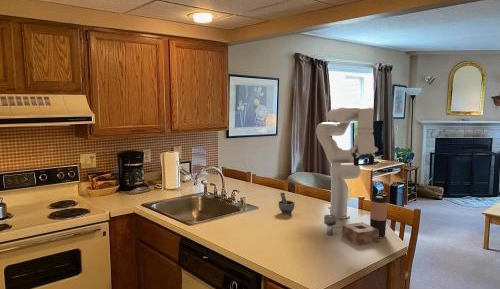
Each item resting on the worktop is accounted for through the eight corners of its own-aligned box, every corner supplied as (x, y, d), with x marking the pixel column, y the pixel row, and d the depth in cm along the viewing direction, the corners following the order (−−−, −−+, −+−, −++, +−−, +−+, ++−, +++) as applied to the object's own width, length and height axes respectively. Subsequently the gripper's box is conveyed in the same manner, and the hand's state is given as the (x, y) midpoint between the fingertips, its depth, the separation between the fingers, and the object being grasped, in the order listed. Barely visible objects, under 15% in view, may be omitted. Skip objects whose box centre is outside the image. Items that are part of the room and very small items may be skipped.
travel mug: (366, 233, 184) (368, 195, 182) (378, 231, 186) (380, 193, 184) (376, 238, 177) (378, 198, 174) (388, 236, 179) (391, 197, 177)
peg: (321, 232, 184) (321, 215, 183) (331, 231, 186) (331, 214, 185) (327, 236, 178) (328, 218, 177) (338, 235, 180) (338, 217, 180)
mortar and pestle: (297, 215, 214) (298, 195, 212) (284, 217, 209) (284, 196, 208) (287, 210, 224) (287, 191, 222) (274, 211, 219) (274, 192, 218)
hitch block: (342, 236, 179) (342, 224, 178) (362, 233, 183) (362, 222, 183) (357, 245, 168) (358, 232, 167) (378, 241, 172) (379, 229, 172)
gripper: (373, 131, 190) (371, 163, 192) (346, 131, 183) (345, 164, 185) (383, 131, 183) (382, 165, 185) (356, 132, 177) (354, 167, 178)
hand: (363, 165), depth 185 cm, fingers open, 9 cm apart
